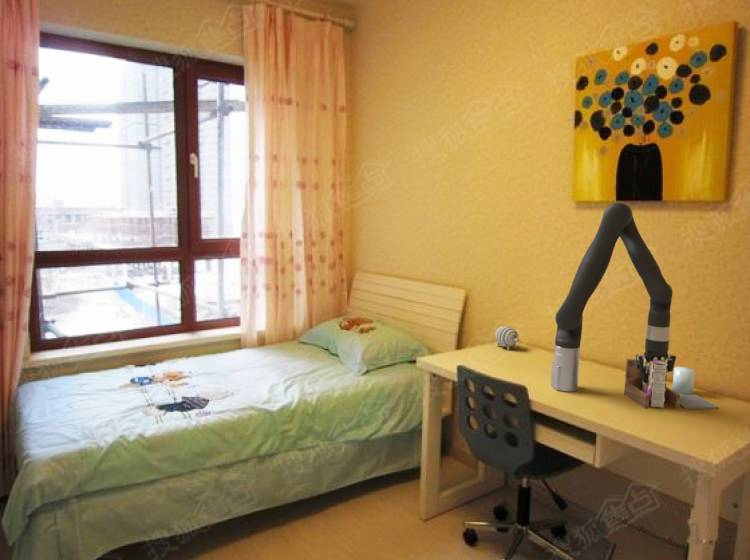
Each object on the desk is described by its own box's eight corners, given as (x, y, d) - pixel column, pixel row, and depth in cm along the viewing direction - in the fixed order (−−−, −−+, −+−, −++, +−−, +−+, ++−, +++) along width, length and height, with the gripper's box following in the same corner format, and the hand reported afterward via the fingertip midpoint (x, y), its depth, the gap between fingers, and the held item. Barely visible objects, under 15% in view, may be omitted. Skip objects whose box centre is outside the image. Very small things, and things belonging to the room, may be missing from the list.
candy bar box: (640, 396, 195) (643, 354, 193) (654, 397, 194) (658, 355, 192) (649, 407, 184) (653, 363, 182) (664, 408, 183) (668, 364, 181)
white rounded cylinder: (679, 395, 196) (681, 372, 195) (668, 388, 203) (670, 366, 202) (697, 394, 197) (699, 372, 195) (685, 388, 204) (687, 366, 202)
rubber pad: (685, 409, 183) (685, 407, 183) (665, 396, 195) (665, 395, 194) (718, 408, 183) (718, 407, 183) (696, 396, 195) (696, 394, 195)
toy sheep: (502, 342, 271) (502, 322, 269) (526, 350, 257) (527, 328, 255) (487, 345, 266) (488, 324, 264) (511, 353, 251) (512, 331, 250)
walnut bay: (644, 408, 183) (647, 370, 181) (624, 394, 197) (626, 358, 195) (678, 408, 184) (682, 370, 182) (655, 393, 198) (658, 358, 196)
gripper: (643, 340, 182) (640, 386, 184) (683, 340, 182) (679, 385, 185) (632, 335, 189) (629, 379, 192) (670, 334, 190) (666, 378, 192)
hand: (653, 382), depth 188 cm, fingers closed on candy bar box, 5 cm apart
